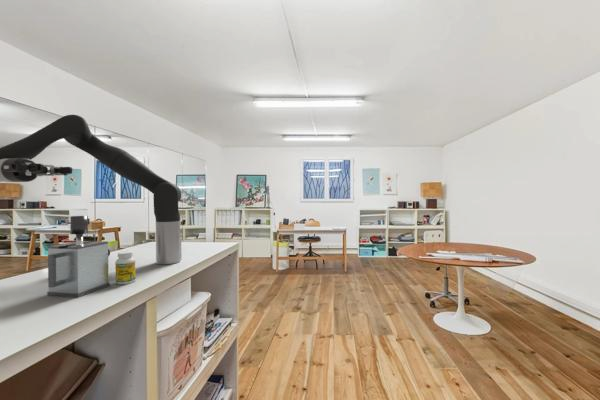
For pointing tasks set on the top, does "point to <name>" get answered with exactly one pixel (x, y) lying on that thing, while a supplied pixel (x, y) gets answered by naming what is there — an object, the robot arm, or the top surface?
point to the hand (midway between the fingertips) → (57, 168)
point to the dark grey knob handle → (79, 227)
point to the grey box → (77, 268)
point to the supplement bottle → (125, 268)
